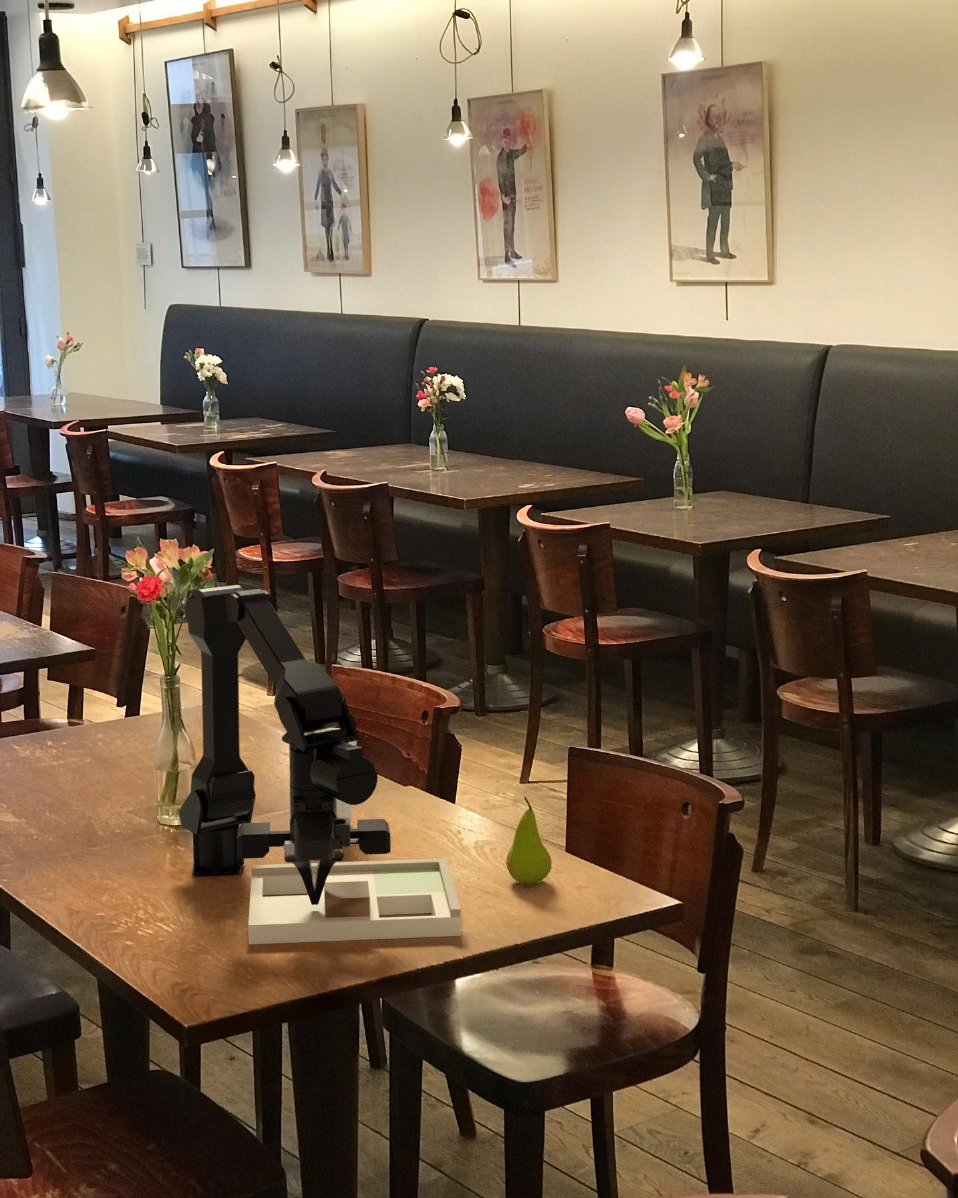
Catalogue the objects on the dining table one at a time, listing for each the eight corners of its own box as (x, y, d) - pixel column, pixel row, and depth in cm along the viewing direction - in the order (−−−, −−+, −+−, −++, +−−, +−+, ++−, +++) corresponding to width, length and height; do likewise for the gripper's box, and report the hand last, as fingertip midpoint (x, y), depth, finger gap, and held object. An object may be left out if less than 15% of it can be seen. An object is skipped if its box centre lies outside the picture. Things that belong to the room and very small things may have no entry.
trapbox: (248, 944, 195) (248, 917, 195) (252, 890, 213) (251, 865, 212) (460, 936, 198) (460, 909, 197) (446, 883, 216) (446, 858, 215)
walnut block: (325, 918, 197) (324, 898, 197) (324, 901, 202) (324, 882, 202) (369, 916, 198) (369, 897, 197) (368, 899, 203) (367, 881, 203)
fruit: (548, 893, 212) (549, 807, 210) (502, 890, 213) (502, 804, 211) (554, 876, 219) (555, 792, 216) (509, 873, 220) (510, 789, 217)
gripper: (234, 806, 188) (237, 932, 191) (392, 802, 190) (393, 926, 193) (237, 778, 199) (240, 897, 202) (387, 774, 201) (388, 892, 204)
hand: (314, 903), depth 200 cm, fingers closed
